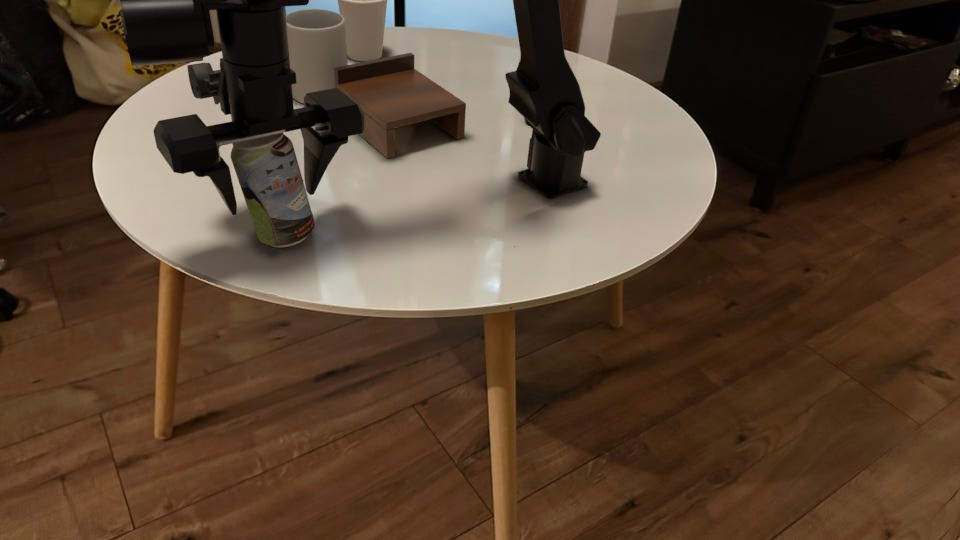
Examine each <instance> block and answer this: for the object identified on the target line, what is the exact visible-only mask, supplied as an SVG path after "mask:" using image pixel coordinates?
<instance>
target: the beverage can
mask: <svg viewBox="0 0 960 540" xmlns="http://www.w3.org/2000/svg"><path fill="white" fill-rule="evenodd" d="M231 145H232V148H231V151H230V160H231V164H232V165H233V169H234V172H235V176H236V177H237V180H238V183H239V187H240V189H241V192H242V195H243V199H244V202H245V204H246V207H247V211H248V213H249V216H250V218H251V222H252V224H253V227H254V230H255V233H256V236H257V239H258V241H259V242H260V243H262V244H264V245H267V246H271V247H274V248H288V247H292V246H295V245H298V244H299V243H301V242H303V241H305V239H307V238H308V237H309V235H310V234H311V233H312V232H313V231H314V229H315V225H316V222H315V218H314V216H313V212H312V208H311V205H310V201H309V198H308V193H307V191H306V186H305V182H304V179H303V176H302V173H301V169H300V164H299V161H298V159H297V155H296V150H295V147H294V144H293V141H292V139H290V138H289V137H288V136H287V135H286V134H285V133H279V134H274V135H270V136H265V137H260V138H256V139H251V140H246V141H241V142H237V143H232V144H231Z"/></svg>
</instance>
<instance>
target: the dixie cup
mask: <svg viewBox="0 0 960 540" xmlns="http://www.w3.org/2000/svg"><path fill="white" fill-rule="evenodd" d="M337 5H338V11H339V14H341V15H342V16H343V17H344V19H345V27H346V44H347V58H349V59H350V60H354V61H357V62H366V61H371V60H376V59H381V58H382V56H383V47H384V40H385V39H384V38H385V30H386V29H385V27H386V17H387V9H388V7H387V6H388V0H337Z"/></svg>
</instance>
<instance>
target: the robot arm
mask: <svg viewBox="0 0 960 540" xmlns="http://www.w3.org/2000/svg"><path fill="white" fill-rule="evenodd" d="M119 3H120V7H121V10H119V14H120V19H121V24H122V28H123V32H124V37H125V42H126V46H127V47H126V48H127V51H128V55H129V59H130V63H131V67H133V68H134V67H144V66H156V65H158V66H159V65H170V64H181V63H183V64H184V63H193V62H194V64H187V65H186V66H187V74H188V82H189V85H190V88H191V93H192V95H193V97H194V98H195V99H199V100H202V99H209V98H213V102H214V104H215V105H219V106H220V112H222V113H223V114H224V115H225V116H228V115H230V118H231V121H227V122H226V121H225V122H222V123H215V124H212V125H207V124H205V123H204V121H203V119H201V118H200V116H199V115H198V114H197V113H192V114H187V115H182V116H178V117H176V116H175V117H171V118H166V119H160V120H158V121H157V123H156V125H155V126H154V128H153V136H154V141H155V145H156V149H157V150H158V151H159V153H160V154H161V156H162V157H163V159H164V160H165V161H166V163H167V164H168V166H169V167H170V169H171V170H172V172H173V173H175V174H180V175H181V174H182V175H184V174H187V173H188V174H189V173H193V174H194V176H196V177H198V178H204V177H208V178H209V179H210V180H211V182H212V184H213V185H214V187H215V189H216V190H217V192H218V194H219V195H220V198H221V199H222V201H223V203H224V205H225V206H226V208H227V210H228V211H229V213H230V214H231V215H232V217H233V216H237V213H238V204H237V203H238V202H237V198H236V194H235V189H234V184H233V180H232V174H231V169H230V166H229V165H228V164H227V162H226V161H225V160H224V158H223V157H222V155H221V154H220V153H221V152H220V147H222V146H226V145H227V146H228V145H233V144H232V143H237V142H241V141H246V140H251V139H256V138H260V137H265V136H270V135H274V134H279V133H283V134H285V133H288V132H293V131H297V130H300V133H301V137H302V142H303V172H304V173H303V178H304V179H303V180H304V186H305V190H306V193H307V194H308V195H310V196H313V195H314V194H315V193H316V191H317V189H318V188H319V185H320V182H321V181H322V178H323V176H324V174H325V172H326V171H327V169H328V167H329V165H330V163H331V162H332V160H333V159H334V157H335V155H336V154H337V152H338V151H339V149H340V148H341V147H342V146H343V145H346V144H348V143H349V137H351V136H356V135H359V134H361V133H363V131H364V113H363V111H362V108H361V107H360V106H359V105H358V104H356V103H355V102H354V101H353V100H352V99H350V98H349V97H348V96H347V95H345V94H344V93H343V92H342V91H341V90H339V89H338V88H333V89H327V90H322V91H316V92H311V93H307V94H306V95H305V97H304V104H303V107H298V108H294V107H295V106H294V98H293V95H292V84H297V83H296V73H295V72H294V71H293V70H292V69H291V68H290V59H289V47H288V35H287V23H286V15H287V14H286V12H287V11H286V7H300V6H307V5H308V4H309V3H310V0H119ZM512 4H513V11H514V17H515V18H514V19H515V25H516V32H517V39H518V44H519V45H518V46H519V52H520V60H519V62H518V65H517V67H516V70H514V71H510V72H506V73H505V80H506V83H507V86H508V89H509V97H508V104H509V105H510V106H512V107H513V108H514V110H516V111H517V112H518V113H519V114H520V115H521V116H522V117H523V119H524V123H525V125H526V126H528V127H530V128H531V129H532V131H531V137H530V138H529V144H528V153H527V161H526V167H527V168H526V169H523V170H520V171H518V172H517V177H518V178H519V179H520V180H522V181H523V182H525V183H526V184H527V185H529V186H530V187H531V188H533V189H534V190H536V191H537V192H538V193H540V194H541V195H542V196H543V197H545V198H547V199H549V200H552V199H556V198H558V197H560V196H564V195H567V194H569V193H573V192H575V191H578V190H580V189H584V188H586V187H588V185H589V181H588V180H587V179H585V178H584V177H583V176H581V175H582V169H583V163H584V157H585V153H586V152H589V151H593V150H594V149H596V147H597V144H598V142H599V140H600V138H601V135H602V133H601V132H600V131H599V130H598V129H597V128H596V126H595V125H594V124H593V123H592V122H591V121H590V120H589V118H588V117H587V116H585V115H586V104H585V101H584V98H583V93H582V91H581V90H582V89H581V86H580V84H579V81H578V80H577V77H576V75H575V73H574V72H573V70H572V68H571V66H570V63H569V61H568V60H567V57H566V54H565V45H564V35H563V25H562V24H563V23H562V15H561V14H562V13H561V4H560V0H512ZM210 11H215V13H216V19H217V20H216V21H217V27H218V34H219V41H220V50H221V55H222V57H220V58H219V69H215V70H213V66H212V64H211V63H210V62H203V61H204V57H209V56H210V49H214V48H215V37H214V29H213V25H212V19H211V13H210ZM195 62H200V63H195Z"/></svg>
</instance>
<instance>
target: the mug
mask: <svg viewBox="0 0 960 540" xmlns="http://www.w3.org/2000/svg"><path fill="white" fill-rule="evenodd" d="M286 23H287V35H288V47H289V59H290V68H291V69H292V70H293V71H294V72H295V73H296V83H297V84H292V95H293V100H294V101H296V102H298V103H301V104H303V105H304V97H305V95H306V94H307V93H311V92H316V91H322V90H327V89H333V88H336V87H335V74H334V68H336V67H341V66H346V65H349V61H348V55H347V44H346V27H345V19H344V17H343V16H342V15H341V14H340V12H336V11H334V10H329V9H324V8H323V9H320V8H308V9H307V8H306V9H299V10H295V11H291V12H289V13H287V14H286Z"/></svg>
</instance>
